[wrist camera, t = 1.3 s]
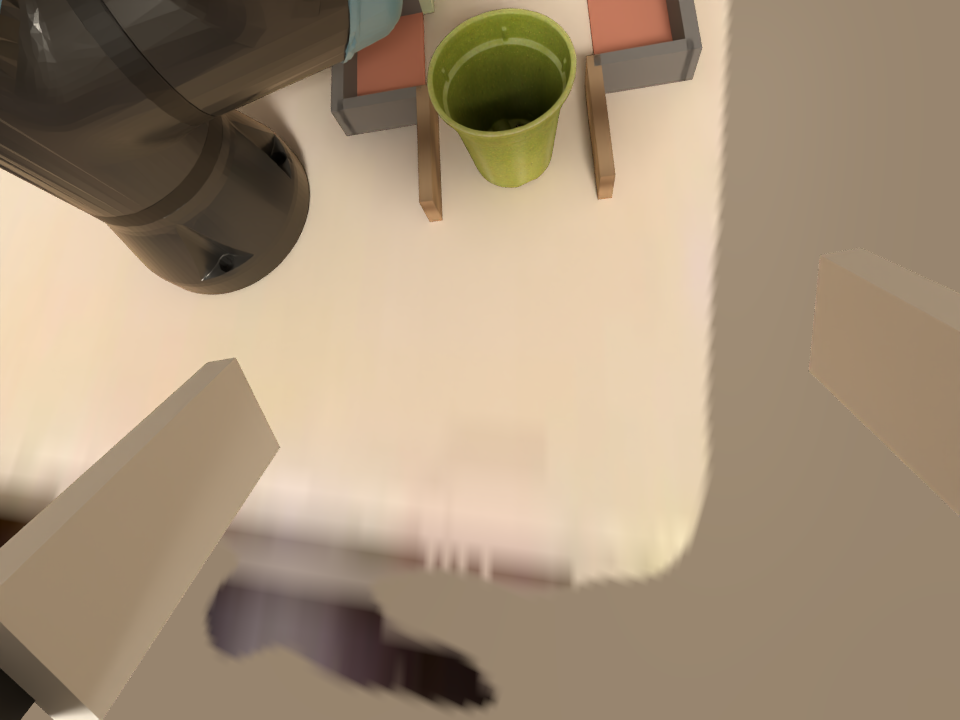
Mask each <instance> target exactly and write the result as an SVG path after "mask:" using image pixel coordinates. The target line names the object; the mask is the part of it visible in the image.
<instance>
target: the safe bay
mask: <svg viewBox="0 0 960 720" xmlns="http://www.w3.org/2000/svg"><path fill="white" fill-rule="evenodd" d="M419 3H420V6H421V9H422V12H423V14H427V13H432V12H434V0H419Z"/></svg>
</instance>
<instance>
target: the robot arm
mask: <svg viewBox="0 0 960 720" xmlns="http://www.w3.org/2000/svg"><path fill="white" fill-rule="evenodd" d="M402 4H403V0H0V168H1V169H3V170H5V171H7V172H9V173H11V174H13V175H15V176H17V177H19V178H21V179H23V180H25V181H27V182H28V183H30V184H32V185H34V186H36V187H38V188H40V189H42V190H44V191H46V192H48V193H50V194H52V195H53V196H55V197H57V198H59V199H61V200H63V201H65V202H67V203H69V204H71V205H73V206H75V207H77V208H78V209H80V210H82V211H85V212H86V213H88V214H90V215H92V216H94V217H96V218H98V219H99V220H101V221H103V222H105V223H106V224H107V225H108V226H109V227H110V228H111V229H112V230H113V231H114V233H115V234H116V235H117V236H118V237H119V238H120V239H121V240H122V241H123V242H124V243H125V244H126V245H127V246H128V248H129V249H130V250H131V251H132V252H133V253H134V254H135V255H136V256H137V257H138V258H139V259H140V260H141V261H142V263H143V264H144V265H145V266H146V267H147V268H149V269H150V270H151V271H152V272H154V273H155V274H156V275H158V276H159V277H161V278H163V279H164V280H166V281H168V282H171V283H173V284H175V285H177V286H179V287H181V288H183V289H185V290H188V291H191V292H195V293H200V294H224V293H229V292H233V291H237V290H240V289H243V288H245V287H247V286H250V285H252V284H254V283H255V282H257V281H259V280H260V279H262V278H263V277H265V276H266V275H268V274H269V273H270V272H271V271H273V270H274V269H275V268H276V267H277V266H278V265H279V264H280V263H281V262H282V261H283V260H284V259H285V257H286V256H287V255H288V254H289V252H290V251H291V249H292V248H293V247H294V245H295V243H296V242H297V240H298V238H299V236H300V234H301V231H302V229H303V226H304V224H305V220H306V217H307V212H308V206H309V188H308V181H307V177H306V174H305V171H304V169H303V167H302V164H301V163H300V161H299V159H298V158H297V157H296V155H295V154H294V153H293V152H292V151H291V149H290V148H289V147H288V146H287V145H286V144H285V142H284V141H283V140H282V139H281V138H280V137H279V136H278V135H277V134H276V133H275V132H273V131H272V130H271V129H269V128H268V127H267V126H265V125H263V124H261V123H260V122H258V121H256V120H254V119H252V118H250V117H248V116H247V115H245V114H243V113H241V112H239V111H237V110H235V109H237V108H239V107H241V106H244V105H246V104H248V103H250V102H253V101H255V100H257V99H259V98H261V97H264V96H266V95H268V94H270V93H273V92H275V91H277V90H279V89H282V88H284V87H286V86H288V85H290V84H293V83H295V82H297V81H299V80H302V79H304V78H306V77H308V76H311V75H313V74H315V73H317V72H319V71H322V70H324V69H326V68H328V67H331V66H333V65H335V64H337V63H346V62H347V61H348V60H350V59H351V58H352V57H353V55H354V53H356V52H358V51H360V50H362V49H363V48H365V47H367V46H369V45H371V44H373V43H375V42H377V41H379V40H380V39H382V38H384V37H386V36H387V35H389V33H390V32H391V31H392V30H393V29H394V27H395V25H396V24H397V22H398V21H399V19H400V16H401V12H402ZM809 372H810V373H811V374H812V375H813V376H814V377H815V378H816V379H817V380H818V381H819V382H820V383H821V384H822V385H823V386H824V387H825V388H826V389H827V390H828V391H829V392H830V393H831V394H833V395H834V396H835V397H836V398H837V399H838V400H839V401H840V402H841V403H842V404H843V405H844V406H845V407H846V408H847V409H848V410H849V411H850V412H851V413H852V414H853V415H854V416H855V417H856V418H858V419H859V420H860V422H862V423H863V424H864V425H865V426H866V427H867V428H868V429H869V430H870V431H871V432H872V433H873V434H874V435H875V436H876V437H877V438H878V439H879V440H880V441H881V442H882V443H883V444H884V445H885V446H886V447H887V448H888V449H890V450H891V451H892V452H893V453H894V454H895V455H896V456H897V457H898V458H899V459H900V460H901V461H902V462H903V463H904V464H905V465H906V466H907V467H908V468H909V469H910V470H911V471H912V472H913V473H914V474H915V475H916V476H917V477H919V478H920V479H921V480H922V481H923V482H924V483H925V484H926V485H927V486H928V487H929V488H930V489H931V490H932V491H933V492H934V493H935V494H936V495H937V496H938V497H939V498H940V499H941V500H942V501H943V502H944V503H945V504H947V505H948V506H949V507H950V508H951V509H952V510H953V511H954V512H955V513H956V514H957V515H958V516H959V517H960V293H958V292H956V291H954V290H951V289H949V288H947V287H945V286H943V285H941V284H939V283H936V282H934V281H932V280H930V279H928V278H926V277H923V276H921V275H919V274H917V273H915V272H913V271H911V270H908V269H906V268H904V267H902V266H899V265H898V264H895V263H893V262H891V261H889V260H887V259H885V258H882V257H880V256H878V255H876V254H874V253H872V252H869V251H867V250H865V249H863V248H857V249H851V250H845V251H839V252H833V253H828V254H822V255H820V260H819V269H818V279H817V290H816V300H815V310H814V320H813V330H812V340H811V351H810V360H809ZM279 448H280V446H279V444H278V442H277V440H276V438H275V436H274V434H273V432H272V430H271V428H270V426H269V424H268V422H267V420H266V418H265V416H264V414H263V412H262V410H261V408H260V406H259V404H258V402H257V400H256V398H255V396H254V394H253V392H252V390H251V388H250V386H249V384H248V382H247V380H246V377H245V375H244V373H243V371H242V369H241V367H240V365H239V363H238V361H237V359H236V358H230V359H225V360H219V361H213V362H208V363H206V364H205V365H204V366H203V367H202V368H201V369H200V370H198V371H197V372H196V373H195V374H194V375H193V376H192V377H191V378H190V379H188V380H187V381H186V382H185V383H184V384H183V385H182V386H181V387H180V388H178V389H177V390H176V391H175V392H174V393H173V394H172V395H171V396H170V397H168V398H167V399H166V400H165V401H164V402H163V403H162V404H161V405H159V406H158V407H157V408H156V409H155V410H154V411H153V412H152V413H151V414H149V415H148V416H147V417H146V418H145V419H144V420H143V421H142V422H141V423H139V424H138V425H137V426H136V427H135V428H134V429H133V430H132V431H130V432H129V433H128V434H127V435H126V436H125V437H124V438H123V439H122V440H120V441H119V442H118V443H117V444H116V445H115V446H114V447H113V448H112V449H110V450H109V451H108V452H107V453H106V454H105V455H104V456H103V457H102V458H100V459H99V460H98V461H97V462H96V463H95V464H94V465H93V466H91V467H90V468H89V469H88V470H87V471H86V472H85V473H84V474H83V475H81V476H80V477H79V478H78V479H77V480H76V481H75V482H74V483H73V484H71V485H70V486H69V487H68V488H67V489H66V490H65V491H64V492H62V493H61V494H60V495H59V496H58V497H57V498H56V499H55V500H54V501H52V502H51V503H50V504H49V505H48V506H47V507H46V508H45V509H44V510H42V511H41V512H40V513H39V514H38V515H37V516H36V517H35V518H33V519H32V520H31V521H30V522H29V523H28V524H27V525H26V526H25V527H23V528H22V529H21V530H20V531H19V532H18V533H17V534H16V535H15V536H13V537H12V538H11V539H10V540H9V541H8V542H7V543H6V544H5V545H3V546H2V547H1V548H0V720H21V718H22V717H23V716H24V714H25V713H26V712H27V711H28V709H29V708H30V707H31V706H32V704H33V703H34V702H35V703H36V704H37V705H38V706H40V707H41V708H42V709H43V710H44V711H45V712H46V713H47V714H48V715H49V716H50V717H51V718H53V719H54V720H103V719H104V717H105V716H106V714H107V712H108V711H109V709H110V708H111V706H112V705H113V703H114V702H115V700H116V698H117V697H118V696H119V694H120V693H121V691H122V689H123V688H124V686H125V685H126V683H127V682H128V680H129V679H130V677H131V676H132V674H133V673H134V671H135V669H136V668H137V666H138V665H139V663H140V662H141V660H142V659H143V657H144V655H145V654H146V653H147V651H148V650H149V648H150V646H151V645H152V643H153V642H154V640H155V639H156V637H157V636H158V634H159V633H160V631H161V629H162V628H163V626H164V625H165V623H166V622H167V620H168V619H169V617H170V616H171V614H172V613H173V611H174V610H175V608H176V606H177V605H178V603H179V602H180V600H181V599H182V597H183V596H184V594H185V593H186V591H187V590H188V588H189V586H190V585H191V583H192V582H193V580H194V579H195V577H196V576H197V574H198V572H199V571H200V570H201V568H202V566H203V565H204V563H205V562H206V560H207V559H208V557H209V556H210V554H211V553H212V551H213V550H214V548H215V547H216V545H217V543H218V542H219V540H220V539H221V537H222V536H223V534H224V533H225V531H226V530H227V528H228V527H229V525H230V523H231V522H232V520H233V519H234V517H235V516H236V514H237V513H238V511H239V510H240V508H241V507H242V505H243V503H244V502H245V500H246V499H247V497H248V496H249V494H250V493H251V491H252V490H253V488H254V487H255V485H256V483H257V482H258V480H259V479H260V477H261V476H262V474H263V473H264V471H265V470H266V468H267V467H268V465H269V464H270V462H271V460H272V459H273V457H274V456H275V454H276V453H277V451H278V450H279Z"/></svg>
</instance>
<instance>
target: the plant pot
mask: <svg viewBox="0 0 960 720" xmlns="http://www.w3.org/2000/svg"><path fill="white" fill-rule="evenodd" d="M575 74H576V53H575V50H574V47H573V44H572V42H571V39H570V37H569V36H568V34H567V33H566V32H565V31H564V29H563V28H562V27H561V26H560V25H559V24H558V23H556V22H555V21H554V20H552V19H550V18H549V17H547V16H545V15H542V14H540V13H537V12H533V11H529V10H524V9H515V8H510V9H509V8H507V9H499V10H493V11H490V12H485V13H482V14H480V15H477V16H475V17H472V18H470V19H468V20H466V21H465V22H463V23H461V24H460V25H459V26H457V27H456V28H455V29H453V30H452V31H451V32H450V33H449V34H448V35H447V36H446V37H445V38H444V39H443V40H442V42H441V43H440V44H439V45H438V47H437V48H436V50H435V52H434V54H433V56H432V59H431V61H430V64H429V68H428V74H427V87H428V93H429V97H430V99H431V102H432V104H433V106H434V108H435V110H436V112H437V113H438V115H439V116H440V117H441V118H442V119H443V120H444V121H445V122H446V123H447V124H448V125H449V126H451V127H452V128H454V129H455V130H456V131H457V132H458V134H459V135H460V137H461V139H462V141H463V142H464V144H465V146H466V148H467V150H468V152H469V154H470V156H471V158H472V159H473V161H474V163H475V165H476V167H477V169H478V170H479V172H480V173H481V175H482V176H483V177H484V178H485V179H486V180H487V181H489V182H491V183H493V184H495V185H497V186H501V187H510V188H512V187H519V186H521V185H523V184H525V183H527V182H529V181H531V180H534V179H536V178H538V177H539V176H540V175H541V174H542V173H543V172H544V171H545V169H546V168H547V167H548V165H549V163H550V160H551V156H552V151H553V146H554V140H555V134H556V128H557V123H558V118H559V113H560V108H561V106H562V104H563V103H564V101H565V100H566V99H567V97H568V95H569V93H570V91H571V88H572V86H573V83H574V79H575ZM517 125H524V126H521V127H517V128H516V127H515V126H517Z"/></svg>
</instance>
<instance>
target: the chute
mask: <svg viewBox="0 0 960 720" xmlns="http://www.w3.org/2000/svg"><path fill="white" fill-rule="evenodd" d="M595 55H598V56H597V57H599V54H595ZM595 55H590V56H586V72H585V91H586V100H587V109H588V117H589V126H590V134H591V143H592V152H593V160H594V169H595V177H596V186H597V195H598V199H606V198H612V193H613V187H614V180H615V168H614V160H613V152H612V144H611V136H610V128H609V121H608V113H607V105H606V97H605V89H604V81H603V73H602V65H600V66H594V60H595V58H594V57H595ZM599 58H601V57H599ZM596 60H599V59H598V58H596ZM600 60H601V59H600ZM600 62H601V61H600ZM600 62H599V63H600ZM596 63H598V62H596ZM599 63H598V64H599ZM600 64H601V63H600ZM420 87H422V88H420ZM417 89H418V91H417ZM420 89H421V90H422V91H421V90H420ZM420 91H421V92H422V93H421V92H420ZM417 93H418V94H417ZM419 94H420V95H419ZM416 102H417V138H418V173H419V203H420V205H421V206H422V208H423V210H424V212H425V214H426V215H427V217H428V219H429V221H430V222H433V221H441V220H442V197H441V172H440V146H439V121H438V113H437V112H436V110H435V108H434V106H433V104H432V102H431V99H430V97H429V93H428V87H427V84H425V85H422V86H421V85H419V86H418V87H416Z"/></svg>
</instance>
